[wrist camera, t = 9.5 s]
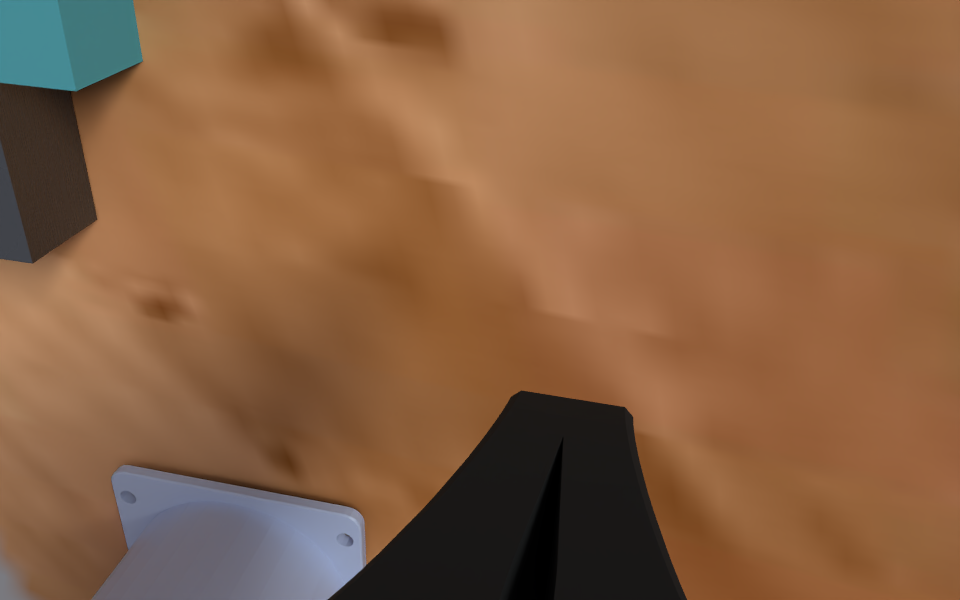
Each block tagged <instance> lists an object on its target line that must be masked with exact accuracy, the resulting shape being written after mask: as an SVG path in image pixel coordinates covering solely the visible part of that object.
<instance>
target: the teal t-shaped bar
mask: <svg viewBox="0 0 960 600" xmlns="http://www.w3.org/2000/svg"><path fill="white" fill-rule="evenodd" d="M142 61H143V60H142V53H141V47H140V41H139V35H138V29H137V23H136V17H135V11H134V5H133V0H0V83H7V84H16V85H25V86H34V87H43V88H51V89H60V90H69V91H78V90H80V89H82V88H85V87H87V86H89V85H91V84H93V83H96V82H98V81H100V80H102V79H104V78H107V77H109V76H111V75H113V74H116V73H118V72H120V71H122V70H124V69H127V68H129V67H131V66H133V65H135V64H138V63H140V62H142Z"/></svg>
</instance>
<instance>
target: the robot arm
mask: <svg viewBox="0 0 960 600" xmlns="http://www.w3.org/2000/svg"><path fill="white" fill-rule="evenodd" d="M111 481H112V485H113V490H114V494H115V498H116V502H117V506H118V510H119V514H120V518H121V522H122V526H123V530H124V535H125V539H126V543H127V547H128V552H127V553H126V554H125V556H124V557H123V558H122V560H121V561H120V562H119V564H118V565H117V566H116V567H115V569H114V570H113V571H112V573H111V574H110V575H109V577H108V578H107V579H106V581H105V582H104V583H103V585H102V586H101V587H100V589H99V590H98V591H97V592H96V594H95V595H94V596H93V598H92V599H91V600H687V599H686V596H685V594H684V592H683V589H682V587H681V585H680V582H679V580H678V577H677V575H676V572H675V570H674V567H673V564H672V562H671V559H670V557H669V554H668V551H667V548H666V545H665V543H664V540H663V537H662V534H661V531H660V528H659V525H658V523H657V520H656V517H655V514H654V511H653V508H652V505H651V502H650V498H649V495H648V492H647V488H646V484H645V481H644V477H643V473H642V469H641V466H640V461H639V457H638V452H637V447H636V442H635V435H634V427H633V417H632V415H631V414H630V413H629V412H628V410H627V409H626V408H625V407H620V406H614V405H608V404H601V403H595V402H589V401H583V400H577V399H570V398H564V397H558V396H552V395H546V394H539V393H533V392H527V391H520V392H518V393H517V394H515V395H513V396H512V397H511V398H510V400H509V401H508V403H507V405H506V406H505V408H504V410H503V411H502V413H501V414H500V415H499V417H498V418H497V420H496V421H495V423H494V424H493V426H492V427H491V428H490V430H489V431H488V432H487V434H486V435H485V436H484V438H483V439H482V440H481V442H480V443H479V444H478V445H477V447H476V448H475V449H474V450H473V452H472V453H471V454H470V456H469V457H468V458H467V459H466V460H465V462H464V463H463V464H462V465H461V466H460V467H459V469H458V470H457V471H456V472H455V473H454V474H453V476H452V477H451V478H450V479H449V480H448V481H447V482H446V484H445V485H444V486H443V487H442V488H441V489H440V491H439V492H438V493H437V494H436V495H435V496H434V497H433V499H432V500H431V501H430V502H429V503H428V504H427V505H426V506H425V507H424V508H423V509H422V510H421V511H420V512H419V513H418V514H417V516H416V517H415V518H414V519H413V520H412V521H411V522H410V523H409V524H408V525H407V526H406V527H405V528H404V529H403V530H402V531H401V532H400V533H399V534H398V535H397V536H396V537H395V538H394V539H393V540H392V541H391V542H390V543H389V544H388V545H387V546H386V547H385V548H384V549H383V550H382V551H381V552H380V553H379V554H378V555H377V556H376V557H375V558H374V559H372V560H371V561H370V562H369V563H368V564H367V565H366V545H365V522H364V519H363V517H362V515H361V514H360V513H359V512H358V511H357V510H355V509H353V508H350V507H347V506H341V505H336V504H331V503H326V502H320V501H315V500H310V499H305V498H299V497H294V496H289V495H284V494H278V493H273V492H268V491H263V490H257V489H252V488H247V487H242V486H236V485H231V484H226V483H221V482H215V481H210V480H205V479H199V478H194V477H189V476H184V475H178V474H173V473H168V472H163V471H157V470H152V469H147V468H142V467H136V466H131V465H122V466H120V467H119V468H118V469H117V470H116V471H115V472H114V474H113V475H112V477H111ZM344 533H345V534H347V535H349V536H350V537H349V536H347V535H345V534H344Z"/></svg>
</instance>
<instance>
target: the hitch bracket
mask: <svg viewBox="0 0 960 600" xmlns="http://www.w3.org/2000/svg"><path fill="white" fill-rule="evenodd" d="M95 220H97V216H96V212H95V207H94V202H93V197H92V193H91V188H90V183H89V178H88V174H87V169H86V164H85V159H84V155H83V150H82V145H81V141H80V136H79V131H78V126H77V122H76V117H75V112H74V107H73V103H72V98H71V93H70V91H69V90H60V89H51V88H43V87H34V86H25V85H16V84H7V83H0V259H6V260H12V261H19V262H26V263H32V264H33V263H34V262H36V261H37V260H39V259H40V258H42V257H43V256H44V255H46V254H47V253H49V252H50V251H52V250H53V249H55V248H56V247H58V246H59V245H60V244H62V243H63V242H65V241H66V240H68V239H69V238H71V237H72V236H74V235H75V234H76V233H78V232H79V231H81V230H82V229H84V228H85V227H87V226H88V225H90V224H91V223H92V222H94V221H95Z"/></svg>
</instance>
